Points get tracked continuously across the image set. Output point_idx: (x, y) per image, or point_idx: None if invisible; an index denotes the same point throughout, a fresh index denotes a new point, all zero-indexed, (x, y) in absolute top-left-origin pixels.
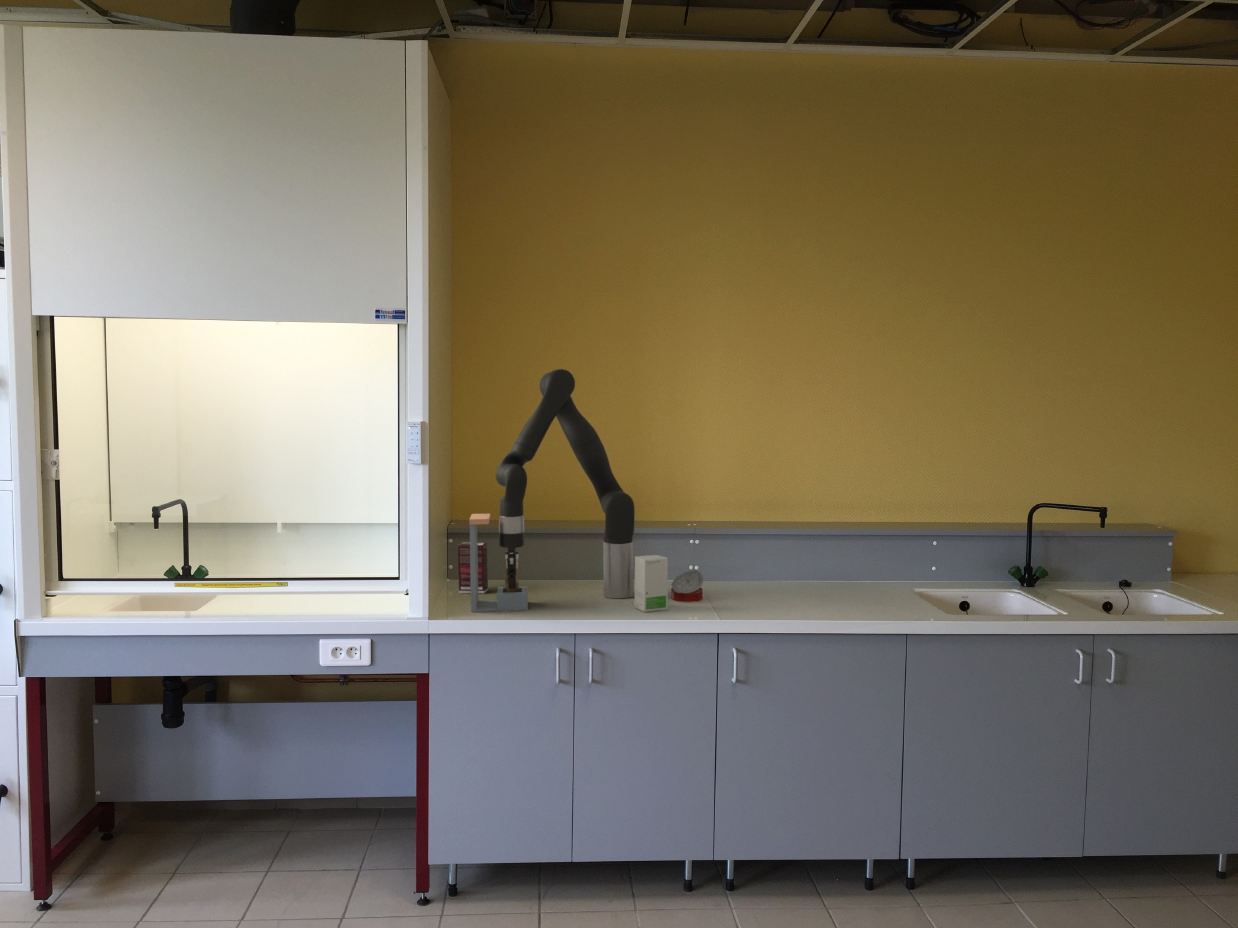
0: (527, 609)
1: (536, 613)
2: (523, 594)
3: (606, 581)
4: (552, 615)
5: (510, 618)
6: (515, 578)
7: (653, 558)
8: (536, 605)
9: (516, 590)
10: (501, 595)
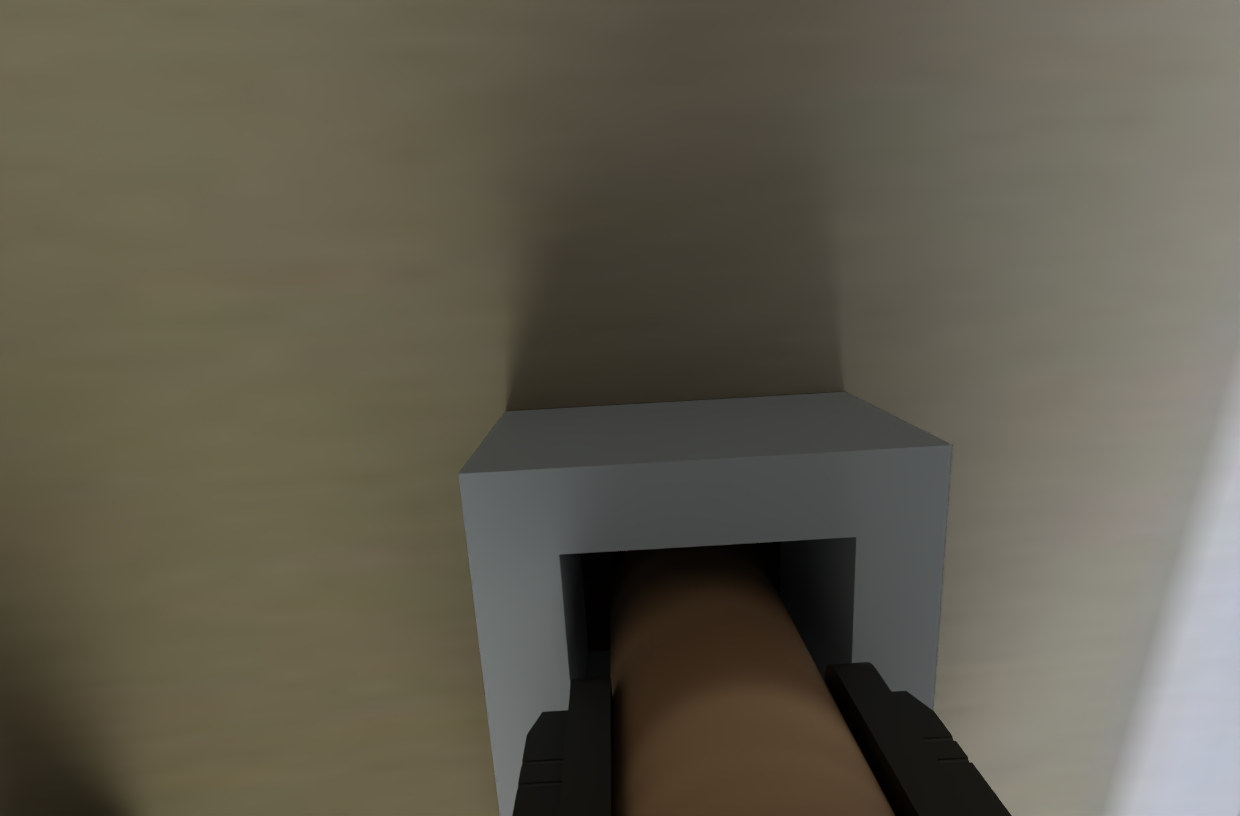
0: (846, 394)
1: (1014, 283)
2: (936, 498)
3: None
4: (1144, 82)
5: (1148, 540)
6: (969, 807)
7: None
8: (658, 300)
9: (788, 620)
10: None
